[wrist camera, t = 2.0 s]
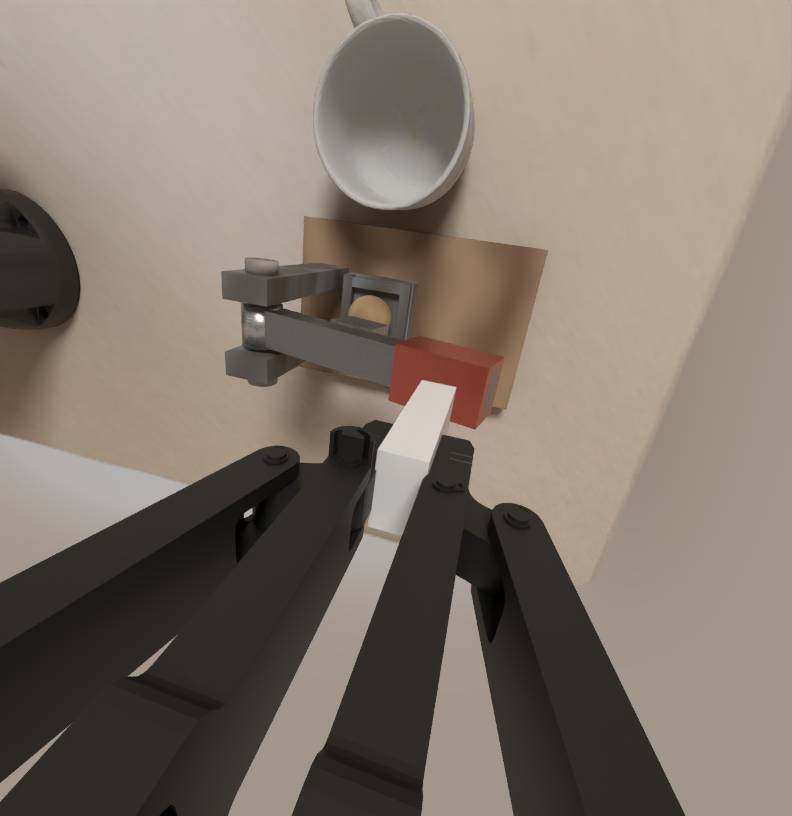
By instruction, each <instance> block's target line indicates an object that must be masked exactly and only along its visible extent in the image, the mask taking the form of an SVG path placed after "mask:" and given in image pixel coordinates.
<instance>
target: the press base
mask: <svg viewBox="0 0 792 816" xmlns="http://www.w3.org/2000/svg"><path fill="white" fill-rule="evenodd" d="M547 252H548V250H543V249H536V248H529V247H521V246H514V245H507V244H500V243H493V242H486V241H478V240H471V239H464V238H457V237H450V236H443V235H435V234H428V233H421V232H414V231H407V230H399V229H392V228H385V227H378V226H371V225H364V224H356V223H349V222H342V221H335V220H328V219H321V218H313V217H306V216H304V241H303V264H299V265H288V266H278V261H275V260H269V259H261V258H245V269H244V270H233V271H222V272H221V274H222V296H223V299H227V300H233V301H238V302H244V303H249V304H255V305H260V306H265V307H268V306H272V305H276V304H279V303H283V302H287V301H291V300H295V299H299V298H302V303H301V313H302V314H306V315H309V316H313V317H317V318H321V319H325V320H329V321H330V320H331V319H335V318H341V317H346V316H348V312H349V309H350V306H351V305H352V303H353V302H354V301H355V300H356V299H358V298H360V297H362V296H366V295H372V296H376V297H379V298H380V299H382V300H383V301H384V302H385V303H386V304H387V306H388V307H389V310H390V313H391V322H390V326H389V331H388V336H389V337H393V338H397V339H401V340H407V339H410V338H413V337H416V336H419V335H420V336H424V337H428V338H432V339H436V340H440V341H444V342H448V343H451V344H455V345H459V346H463V347H467V348H471V349H475V350H479V351H483V352H487V353H491V354H495V355H499V356H503V357H505V358H504V362H503V366H502V370H501V374H500V378H499V382H498V386H497V390H496V394H495V398H494V402H493V407H496V408H501V409H506V408H507V405H508V401H509V397H510V393H511V389H512V386H513V382H514V378H515V374H516V370H517V367H518V363H519V359H520V355H521V351H522V348H523V344H524V340H525V336H526V332H527V329H528V325H529V321H530V317H531V313H532V309H533V306H534V302H535V298H536V294H537V290H538V287H539V283H540V279H541V275H542V271H543V268H544V264H545V260H546V256H547ZM225 361H226V375H229V376H234V377H238V378H243V379H247V380H248V383H249V384H251V385H254V386H260V387H267V386H272V385H275V384H276V383H277V378H278V377H279V376H281V375H283V374H285V373H286V372H288V371H290V370H291V369H293V368H295V367H297V366H298V365H300V367H305V368H310V369H315V370H319V371H324V372H329V373H334V374H339V375H343V376H348V377H353V378H358V377H355V376H352V375H349V374H346V373H343V372H340V371H336V370H333V369H330V368H327V367H324V366H321V365H318V364H315V363H312V362H309V361H305V360H302V359H299V358H296V357H293V356H290V355H287V354H284V353H281V352H277V351H274V350H254V349H249V348H246V347H244V346H243V345H241V346H239V347H236V348H234V349H231V350H228V351H226V352H225ZM358 379H361V378H358ZM362 380H364V379H362ZM367 381H368V380H367Z"/></svg>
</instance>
